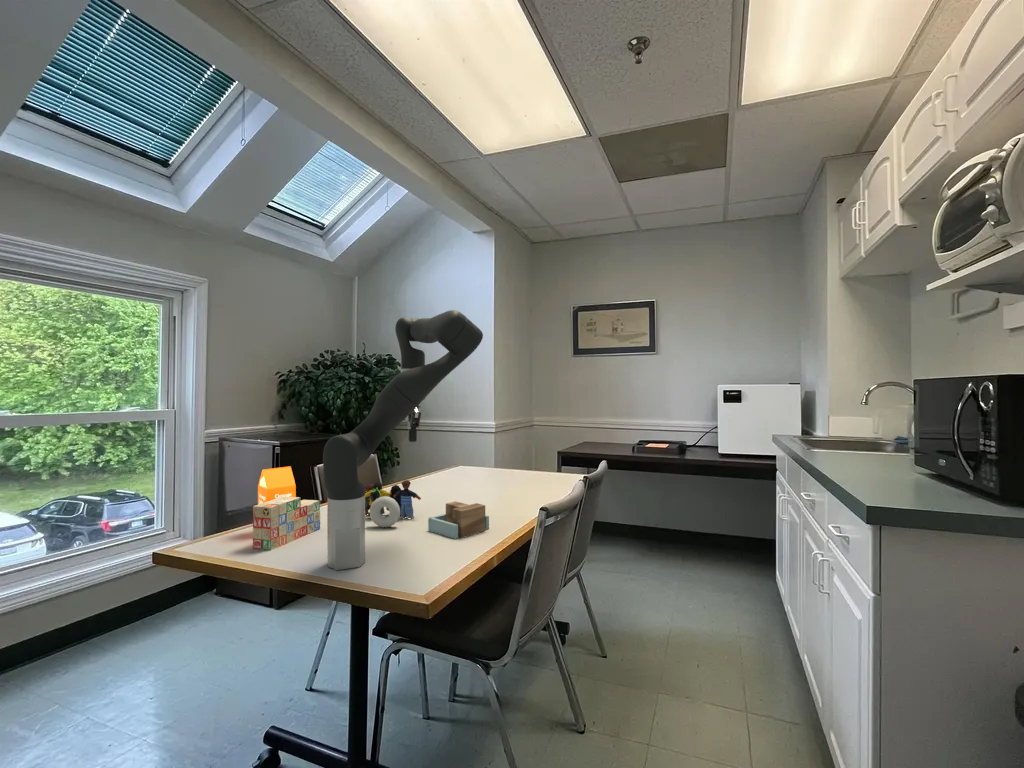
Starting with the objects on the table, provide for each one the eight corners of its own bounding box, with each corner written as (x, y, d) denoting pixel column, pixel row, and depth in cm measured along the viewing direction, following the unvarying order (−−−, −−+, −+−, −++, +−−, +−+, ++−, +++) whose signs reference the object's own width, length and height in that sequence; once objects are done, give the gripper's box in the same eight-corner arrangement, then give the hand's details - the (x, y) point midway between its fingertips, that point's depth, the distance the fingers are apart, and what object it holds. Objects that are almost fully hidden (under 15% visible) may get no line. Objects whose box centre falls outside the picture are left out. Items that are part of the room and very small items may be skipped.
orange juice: (296, 530, 155) (296, 467, 155) (266, 537, 148) (266, 471, 148) (286, 526, 160) (286, 464, 160) (257, 531, 154) (257, 468, 154)
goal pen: (489, 528, 157) (489, 516, 157) (455, 538, 146) (455, 525, 146) (462, 521, 165) (462, 509, 165) (428, 530, 154) (428, 517, 154)
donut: (401, 526, 159) (401, 495, 159) (398, 529, 156) (398, 497, 156) (372, 525, 161) (372, 494, 161) (368, 528, 157) (367, 497, 157)
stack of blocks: (303, 527, 158) (303, 489, 158) (320, 529, 157) (320, 490, 157) (252, 549, 138) (252, 505, 138) (270, 551, 136) (270, 506, 136)
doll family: (424, 513, 176) (424, 476, 176) (420, 520, 167) (420, 481, 167) (359, 513, 175) (359, 476, 175) (352, 520, 166) (351, 481, 166)
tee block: (485, 530, 154) (485, 505, 154) (461, 537, 147) (461, 511, 147) (462, 523, 162) (462, 499, 162) (438, 530, 155) (438, 505, 155)
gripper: (430, 384, 143) (429, 443, 143) (420, 384, 155) (420, 438, 155) (404, 384, 140) (403, 444, 140) (396, 384, 153) (396, 439, 152)
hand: (412, 441), depth 148 cm, fingers closed
